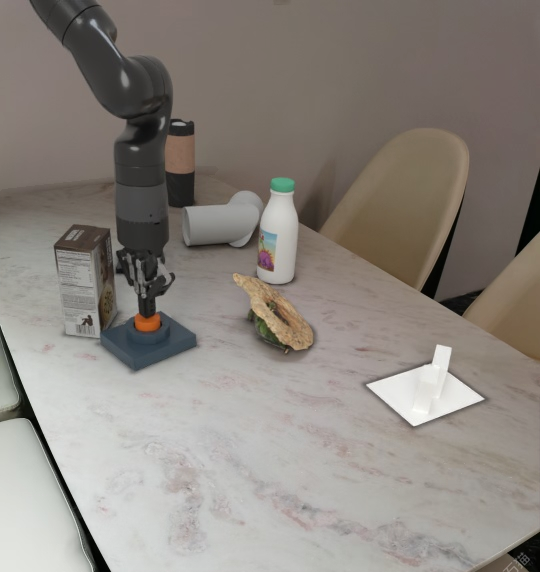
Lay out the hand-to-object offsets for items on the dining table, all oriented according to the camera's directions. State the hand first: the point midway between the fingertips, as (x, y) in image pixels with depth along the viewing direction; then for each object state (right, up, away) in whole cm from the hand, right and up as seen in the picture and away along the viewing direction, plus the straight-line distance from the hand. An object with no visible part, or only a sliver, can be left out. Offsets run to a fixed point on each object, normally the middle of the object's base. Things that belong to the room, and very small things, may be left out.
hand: (147, 315), depth 95 cm
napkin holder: (+44, -12, -2) cm, 46 cm away
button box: (0, -5, +3) cm, 6 cm away
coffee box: (-11, -1, +8) cm, 13 cm away
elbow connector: (+8, +21, +43) cm, 48 cm away
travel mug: (-4, +34, +60) cm, 69 cm away
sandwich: (+21, -3, +10) cm, 23 cm away
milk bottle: (+21, +10, +28) cm, 36 cm away
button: (0, -2, +1) cm, 2 cm away
